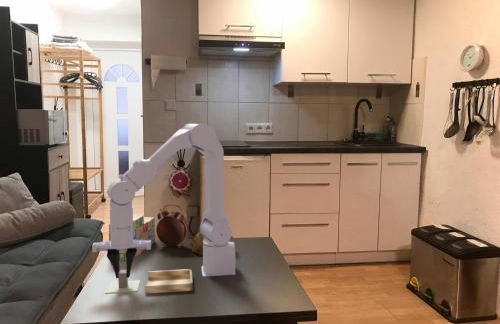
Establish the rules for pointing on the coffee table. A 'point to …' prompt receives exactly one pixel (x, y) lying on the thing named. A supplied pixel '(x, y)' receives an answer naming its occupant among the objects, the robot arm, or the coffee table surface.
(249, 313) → the coffee table surface
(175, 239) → the alarm clock
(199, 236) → the seashell
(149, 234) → the stack of blocks
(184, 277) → the box
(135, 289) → the cover plate
